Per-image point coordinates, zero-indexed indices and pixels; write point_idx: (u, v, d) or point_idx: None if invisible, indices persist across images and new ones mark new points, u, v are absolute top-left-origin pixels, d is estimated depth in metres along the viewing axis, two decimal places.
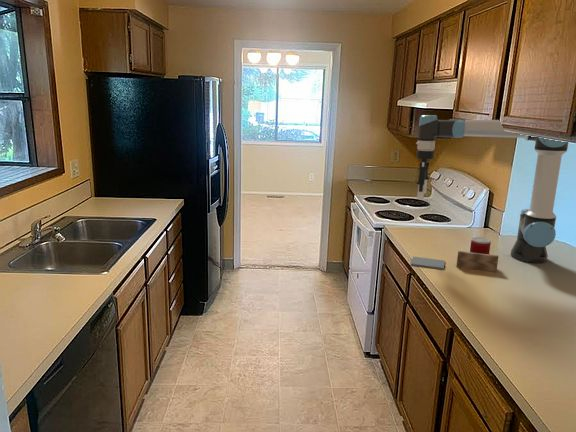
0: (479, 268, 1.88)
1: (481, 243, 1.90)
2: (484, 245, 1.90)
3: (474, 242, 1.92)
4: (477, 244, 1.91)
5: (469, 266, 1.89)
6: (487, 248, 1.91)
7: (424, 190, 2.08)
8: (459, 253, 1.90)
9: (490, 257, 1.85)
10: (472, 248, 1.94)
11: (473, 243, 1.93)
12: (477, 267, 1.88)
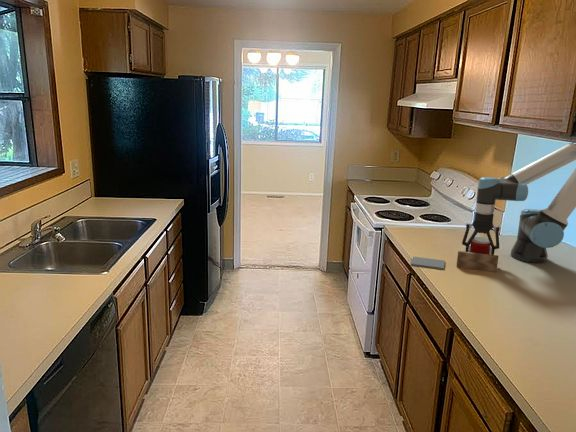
0: (479, 268, 1.88)
1: (481, 243, 1.90)
2: (484, 245, 1.90)
3: (474, 242, 1.92)
4: (477, 244, 1.91)
5: (469, 266, 1.89)
6: (487, 248, 1.91)
7: None
8: (459, 253, 1.90)
9: (490, 257, 1.85)
10: (472, 248, 1.94)
11: (473, 243, 1.93)
12: (477, 267, 1.88)
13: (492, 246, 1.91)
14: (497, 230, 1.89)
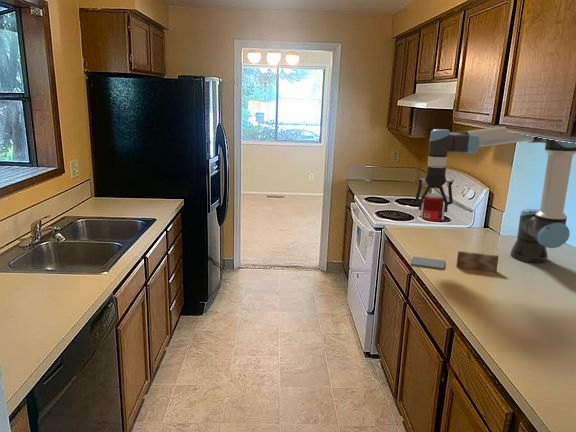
0: (479, 268, 1.88)
1: (434, 197, 1.84)
2: (437, 200, 1.84)
3: (427, 197, 1.86)
4: (429, 199, 1.85)
5: (469, 266, 1.89)
6: (440, 203, 1.85)
7: None
8: (459, 253, 1.90)
9: (490, 257, 1.85)
10: (425, 204, 1.87)
11: (426, 198, 1.87)
12: (477, 267, 1.88)
13: (445, 201, 1.85)
14: (450, 184, 1.83)
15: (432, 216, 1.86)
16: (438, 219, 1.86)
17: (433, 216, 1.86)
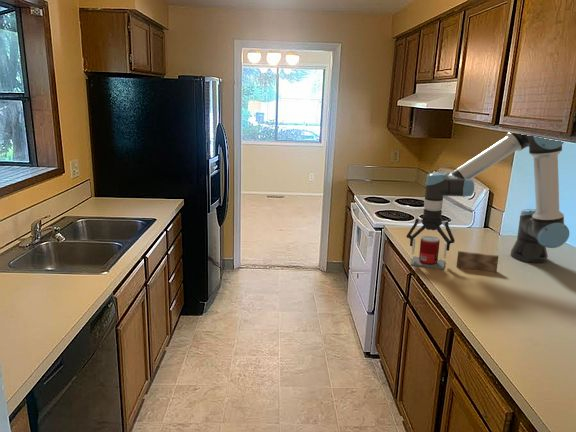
0: (479, 268, 1.88)
1: (430, 241, 1.89)
2: (433, 243, 1.89)
3: (423, 241, 1.91)
4: (426, 243, 1.90)
5: (469, 266, 1.89)
6: (436, 247, 1.90)
7: (444, 254, 1.91)
8: (459, 253, 1.90)
9: (490, 257, 1.85)
10: (421, 247, 1.92)
11: (422, 242, 1.91)
12: (477, 267, 1.88)
13: (447, 240, 1.88)
14: (446, 225, 1.87)
15: (428, 259, 1.91)
16: (434, 262, 1.91)
17: (429, 259, 1.91)
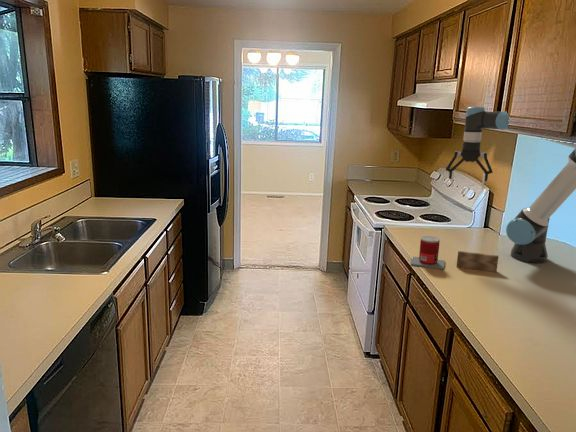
0: (479, 268, 1.88)
1: (430, 242, 1.89)
2: (433, 244, 1.89)
3: (423, 241, 1.91)
4: (426, 243, 1.90)
5: (469, 266, 1.89)
6: (436, 247, 1.89)
7: (482, 185, 2.02)
8: (459, 253, 1.90)
9: (490, 257, 1.85)
10: (421, 247, 1.92)
11: (422, 242, 1.91)
12: (477, 267, 1.88)
13: (485, 171, 1.99)
14: (485, 156, 1.98)
15: (428, 259, 1.91)
16: (434, 262, 1.91)
17: (429, 259, 1.91)
